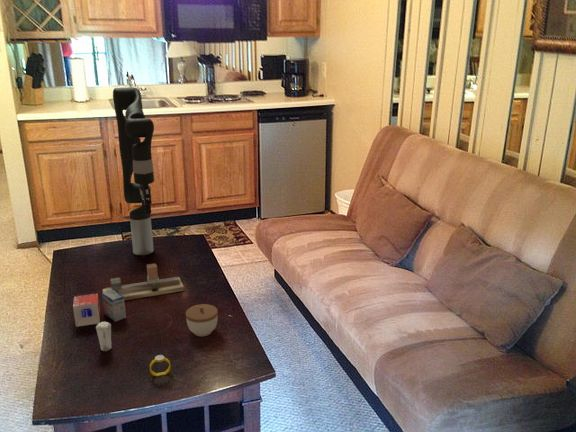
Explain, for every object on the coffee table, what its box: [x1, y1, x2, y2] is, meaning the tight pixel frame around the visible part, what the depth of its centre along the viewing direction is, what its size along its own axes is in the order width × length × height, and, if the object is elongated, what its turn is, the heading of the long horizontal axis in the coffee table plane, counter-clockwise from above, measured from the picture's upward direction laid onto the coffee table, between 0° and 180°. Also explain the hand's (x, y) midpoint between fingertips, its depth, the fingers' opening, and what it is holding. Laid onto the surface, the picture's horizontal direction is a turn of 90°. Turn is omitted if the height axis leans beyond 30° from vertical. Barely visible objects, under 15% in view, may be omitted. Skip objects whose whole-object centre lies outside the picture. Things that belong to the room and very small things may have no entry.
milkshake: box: [95, 321, 112, 352], centre depth 165 cm, size 5×5×10 cm
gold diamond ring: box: [149, 354, 172, 377], centre depth 153 cm, size 6×3×6 cm, turn 108°
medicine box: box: [101, 290, 127, 323], centre depth 185 cm, size 8×4×9 cm, turn 47°
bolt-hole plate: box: [102, 276, 185, 302], centre depth 204 cm, size 10×30×6 cm, turn 112°
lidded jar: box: [185, 303, 219, 337], centre depth 175 cm, size 11×11×9 cm
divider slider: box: [146, 262, 160, 288], centre depth 204 cm, size 4×4×9 cm
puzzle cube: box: [72, 293, 101, 328], centre depth 183 cm, size 8×8×8 cm
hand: (146, 210), depth 206 cm, fingers open, 8 cm apart
